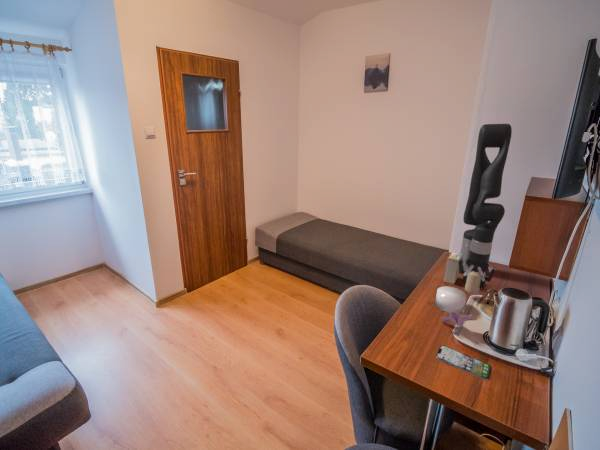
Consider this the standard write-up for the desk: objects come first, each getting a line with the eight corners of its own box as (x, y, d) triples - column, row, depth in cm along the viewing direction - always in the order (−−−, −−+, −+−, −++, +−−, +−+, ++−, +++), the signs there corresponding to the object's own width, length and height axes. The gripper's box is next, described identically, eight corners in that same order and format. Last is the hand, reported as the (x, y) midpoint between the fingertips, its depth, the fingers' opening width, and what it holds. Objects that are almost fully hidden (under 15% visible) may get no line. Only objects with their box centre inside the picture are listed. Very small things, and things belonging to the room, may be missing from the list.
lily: (480, 336, 110) (477, 309, 112) (475, 341, 101) (471, 311, 103) (444, 333, 117) (442, 307, 119) (437, 337, 108) (434, 310, 110)
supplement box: (454, 285, 142) (459, 260, 138) (443, 282, 145) (447, 257, 140) (458, 278, 148) (462, 254, 144) (447, 275, 151) (451, 251, 147)
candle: (475, 287, 133) (479, 267, 130) (481, 294, 128) (486, 273, 125) (462, 286, 134) (466, 266, 130) (467, 293, 129) (472, 272, 125)
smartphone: (488, 380, 90) (435, 357, 98) (487, 383, 90) (435, 359, 99) (491, 364, 96) (441, 344, 104) (490, 367, 96) (440, 346, 104)
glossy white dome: (440, 295, 134) (442, 283, 132) (467, 304, 127) (469, 292, 125) (431, 306, 126) (433, 294, 124) (459, 317, 119) (462, 304, 117)
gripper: (502, 251, 122) (493, 287, 128) (463, 242, 131) (457, 276, 137) (498, 258, 117) (489, 295, 123) (458, 248, 126) (452, 283, 132)
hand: (472, 285), depth 130 cm, fingers closed on candle, 5 cm apart
